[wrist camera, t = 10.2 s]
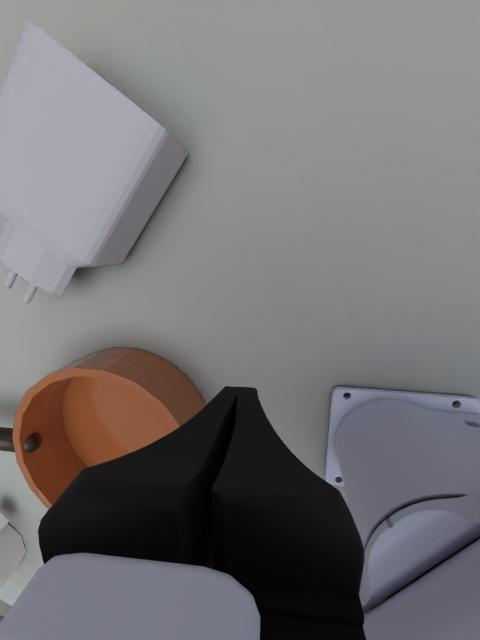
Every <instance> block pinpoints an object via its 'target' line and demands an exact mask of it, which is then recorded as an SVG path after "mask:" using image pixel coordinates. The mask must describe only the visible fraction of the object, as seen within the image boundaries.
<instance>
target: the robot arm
mask: <svg viewBox="0 0 480 640" xmlns="http://www.w3.org/2000/svg"><path fill="white" fill-rule="evenodd" d="M346 392H348V393H350V395H349V396H346V397H345V396H343V395H344V393H346ZM454 401H457V403H456V404H455V405H452V403H453V402H454ZM479 413H480V401H479V400H478V399H476V398H475V397H472V396H460V395H447V394H433V393H420V392H406V391H393V390H379V389H366V388H352V387H335V388H334V389H333V390H332V395H331V407H330V419H329V430H328V442H327V453H326V465H325V480H326V481H327V482H328V483H327V482H326V481H324V480H323V479H322V478H320V477H319V476H317V475H316V474H315V473H313V472H312V471H311V470H310V469H309V468H307V467H306V466H305V465H304V464H303V463H302V462H301V461H300V460H299V459H298V458H297V457H296V456H295V455H294V454H293V453H292V452H291V451H290V450H289V449H288V448H287V446H286V445H285V444H284V443H283V441H282V440H281V439H280V437H279V436H278V435H277V433H276V432H275V430H274V429H273V427H272V425H271V424H270V422H269V420H268V419H267V417H266V415H265V413H264V410H263V408H262V406H261V404H260V401H259V398H258V393H257V390H256V388H249V387H229V386H225V387H224V388H223V389H222V390H221V391H220V392H219V393H218V394H217V395H216V396H215V397H214V398H213V399H212V400H211V401H210V402H209V403H208V404H207V405H206V406H205V407H204V408H203V409H202V410H201V411H199V412H198V413H197V414H196V415H195V416H193V417H192V418H191V419H190V420H188V421H187V422H186V423H184V424H183V425H182V426H180V427H179V428H177V429H175V430H174V431H172V432H171V433H169V434H167V435H166V436H164V437H162V438H160V439H158V440H156V441H154V442H153V443H151V444H149V445H147V446H145V447H142V448H140V449H138V450H136V451H133V452H131V453H129V454H126V455H124V456H121V457H118V458H116V459H113V460H110V461H107V462H104V463H101V464H98V465H95V466H91V467H88V468H85V469H83V470H82V471H81V472H80V473H79V474H78V475H77V476H76V477H75V479H74V480H73V481H72V482H71V483H70V484H69V486H68V487H67V488H66V489H65V490H64V492H63V493H62V494H61V495H60V497H59V498H58V499H57V500H56V501H55V503H54V504H53V505H52V506H51V508H50V509H49V510H48V511H47V513H46V514H45V515H44V517H43V518H42V519H41V522H40V526H39V530H38V534H39V545H40V549H41V553H42V557H43V561H44V565H43V566H42V567H41V568H40V569H38V571H37V572H36V573H35V575H34V576H33V578H32V579H31V580H30V582H29V583H28V585H27V586H26V588H25V589H24V590H23V592H22V593H21V595H20V596H19V597H18V599H17V600H16V602H15V603H14V604H13V606H12V607H11V609H10V610H9V612H8V613H7V615H6V616H0V640H480V415H479ZM337 477H341V478H340V479H336V478H337ZM330 484H335V485H343V486H344V487H345V491H346V495H347V499H348V503H349V506H350V510H351V513H350V511H349V508H348V506H347V504H346V502H345V500H344V499H343V497H342V495H341V493H340V491H339V490H337V489H336V488H334V487H333V486H332V485H330ZM351 514H352V515H351Z"/></svg>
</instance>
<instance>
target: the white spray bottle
mask: <svg viewBox="0 0 480 640" xmlns="http://www.w3.org/2000/svg"><path fill="white" fill-rule="evenodd" d="M8 522H9V520H8V519H7V518H6V517H5V516H4V515H3V514H2V513H1V512H0V588H1V586H2V585H3V584H4V583H5V582H6V580H7V579H8V578H9V577H10V576H11V574H12V573H13V572H14V571H15V570H16V569H17V567H18V566H19V565H20V564H21V561H22V559H23V557H24V555H25V553H26V550H25V547H24V544H23V540H22V537H21V535H20V534H19V533H18V532H17V531H16V530H14V529H13V528H12V527H11V526H10V525H9V524H8Z"/></svg>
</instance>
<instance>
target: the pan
mask: <svg viewBox="0 0 480 640" xmlns="http://www.w3.org/2000/svg"><path fill="white" fill-rule="evenodd" d="M204 407H205V403H204V401H203V399H202V397H201V395H200V394H199V392H198V391H197V389H196V388H195V386H194V385H193V383H192V382H191V381H190V380H189V379H188V378H187V377H186V375H184V374H183V373H182V372H181V371H180V370H179V369H178V368H177V367H175V366H174V365H172V364H171V363H169V362H168V361H166V360H165V359H163V358H161V357H159V356H157V355H154V354H152V353H149V352H147V351H143V350H139V349H134V348H109V349H104V350H101V351H97V352H95V353H92V354H89V355H86V356H84V357H82V358H80V359H78V360H76V361H74V362H72V363H70V364H68V365H66V366H64V367H62V368H60V369H58V370H56V371H54V372H52V373H50V374H48V375H47V376H45V377H44V378H43V379H41V380H40V381H39V382H38V383H36V384H35V385H34V386H32V387H31V388H30V389H29V390H28V391H27V392H26V394H25V395H24V397H23V399H22V401H21V403H20V405H19V406H18V408H17V410H16V413H15V419H14V427H13V435H12V439H13V444H14V449H15V454H16V459H17V462H18V465H19V467H20V469H21V471H22V473H23V475H24V477H25V479H26V481H27V483H28V485H29V487H30V489H31V490H32V491H33V492H34V493H35V495H36V496H37V497H38V498H39V499H40V501H41V502H42V503H43V504H44V505H45V506H46V508H47V509H48V510H49V509H50V508H51V506H52V505H53V504H54V503H55V501H56V500H57V499H58V498H59V497H60V495H61V494H62V493H63V492H64V490H65V489H66V488H67V487H68V486H69V484H70V483H71V482H72V481H73V480H74V479H75V477H76V476H77V475H78V474H79V473H80V472H81V471H82V470H83V469H85V468H88V467H91V466H95V465H98V464H101V463H104V462H107V461H110V460H113V459H116V458H118V457H121V456H124V455H126V454H129V453H131V452H133V451H136V450H138V449H140V448H142V447H145V446H147V445H149V444H151V443H153V442H154V441H156V440H158V439H160V438H162V437H164V436H166V435H167V434H169V433H171V432H172V431H174V430H175V429H177V428H179V427H180V426H182V425H183V424H184V423H186V422H187V421H188V420H190V419H191V418H192V417H193V416H195V415H196V414H197V413H198V412H199V411H201V410H202V409H203V408H204ZM34 432H38V433H40V435H41V436H42V443H41V445H40V447H39V448H38V449H37V450H36V451H34V452H32V453H27V452H26V451H25V449H24V445H25V442H26V440H27V438H28V437H29V436H30V435H31V434H32V433H34Z"/></svg>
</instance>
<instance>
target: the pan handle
mask: <svg viewBox="0 0 480 640" xmlns="http://www.w3.org/2000/svg"><path fill="white" fill-rule="evenodd" d="M12 435H13V429H12V428H4V427H0V450H2V451H10V452H15V449H14V444H13V439H12ZM41 443H42V436H41V435H40V433H38V432H34V433H32V434H31V435H30V436H29V437H28V438H27V440H26V442H25V445H24V449H25V451H26V452H27V453H32V452H34V451H36V450H37V449H38V448H39V447H40V445H41Z"/></svg>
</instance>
